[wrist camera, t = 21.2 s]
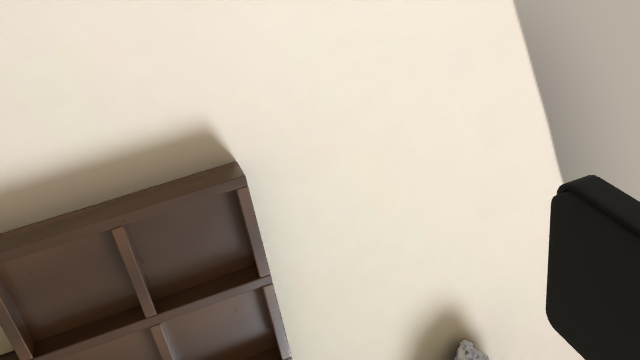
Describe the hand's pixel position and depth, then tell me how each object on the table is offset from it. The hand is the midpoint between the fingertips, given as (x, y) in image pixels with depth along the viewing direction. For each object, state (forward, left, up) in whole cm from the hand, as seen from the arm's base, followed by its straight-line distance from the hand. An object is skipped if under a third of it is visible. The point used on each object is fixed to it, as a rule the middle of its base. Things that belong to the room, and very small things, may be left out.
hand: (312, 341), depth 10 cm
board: (+20, -8, -25) cm, 33 cm away
